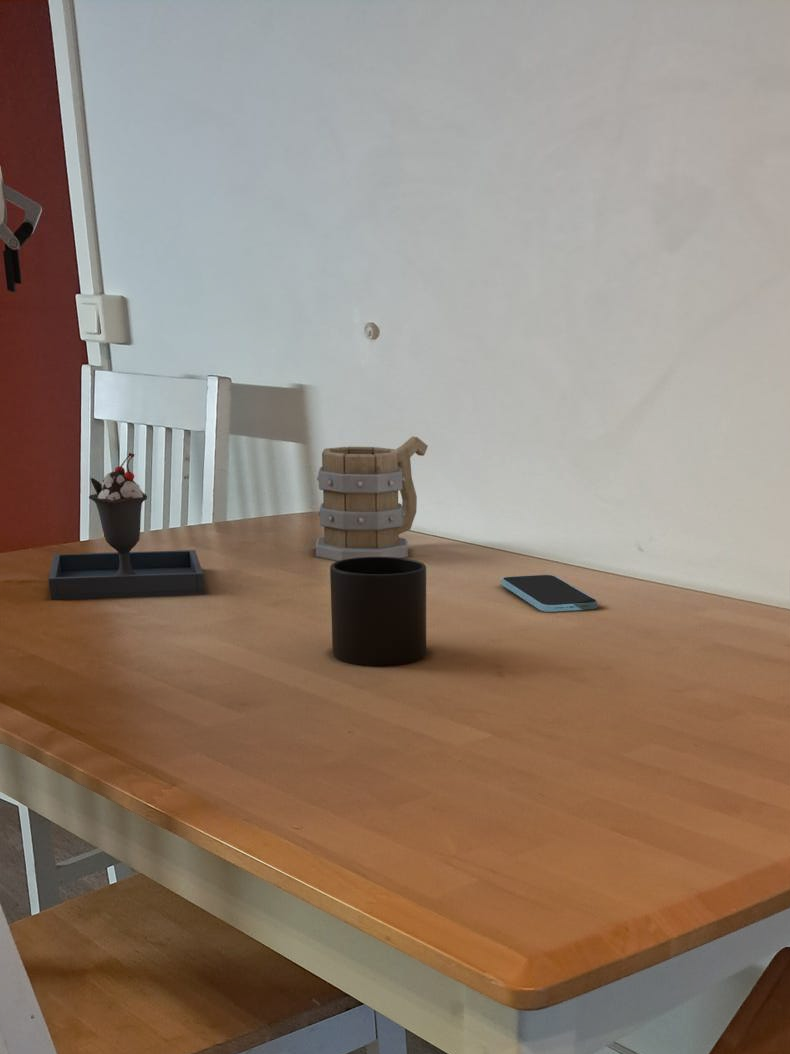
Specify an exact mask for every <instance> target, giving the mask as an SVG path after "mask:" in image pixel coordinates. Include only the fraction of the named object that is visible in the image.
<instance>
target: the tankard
mask: <svg viewBox="0 0 790 1054" xmlns="http://www.w3.org/2000/svg"><path fill="white" fill-rule="evenodd" d="M428 447H429V446H428V444H427V443H425V441H423V440H422V439H421V438H419V437H417V436H411V437H410V438H408V440H406V441H405V442H404V443H403V444H401V445H400V446H399V447H397V448H396V449H395V448H387V447H379V446H375V447H374V446H339V447H338V446H337V447H329V448H328V447H326V448H324V449H323V450H322V452H321V463H322V464H321V465H322V466H321V467H319V469H318V475H317V477H316V481H318V489H319V490H321V491H322V498H323V499H322V500H323V502H321V504H320V506H319V511H318V512H317V515H318V516H319V525H320V526H321V527H324V528H323V529H324V530H323V531H324V532H323V533H324V537H318V539H317V540H316V543H315V557H316V558H321V559H325V560H331V561H334V562H337V561H340V560H344V559H350V558H359V557H396V558H405V559H407V558H408V556H409V553H408V552H409V549H408V540H407V538H405V537H399V535H401V534H403V533H406V532H408V531H411V529H412V526H413V523H414V521H415V517H416V515H417V506H418V505H417V504H418V496H417V492H416V488H415V485H414V481H413V477H412V465H411V464H412V463H411V458H412V456H414V455H415V454H416V456H421V457H424V456H425V455H426V452H427V451H428ZM399 492H400V496H401V499H402V500H401V503H399Z"/></svg>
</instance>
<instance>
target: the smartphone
mask: <svg viewBox="0 0 790 1054" xmlns="http://www.w3.org/2000/svg"><path fill="white" fill-rule="evenodd" d="M501 585H502V587H504V588H505V589H507V590H508V591H510V592H511V593H513V594H514V595H516V596H518V597H519V598H521V599H522V600H524V601H525V602H527V603H528V604H530V605H531V606H532V607H535V608H536V609H537V610H539V611H541V612H545V613H555V612H556V613H557V612H570V611H571V612H572V611H585V610H595V609H597V608H598V600H597V599H595V598H594V597H592V596H590V595H588V594H587V593H585V592H584V591H581V590H580V589H578V588H576V587H575V586H573V585H571V584H570V583H568V582H566V581H565V580H563V579H561V578H560V577H558V576H556V575H553V574H534V575H533V574H531V575H518V576H517V575H516V576H515V575H513V576H503V577H501Z"/></svg>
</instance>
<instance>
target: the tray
mask: <svg viewBox="0 0 790 1054" xmlns="http://www.w3.org/2000/svg"><path fill="white" fill-rule="evenodd" d="M51 560H52V561H51V566H50V571H49V575H48V587H49V594H50V601H63V600H64V601H65V600H89V599H115V598H140V597H143V598H144V597H145V598H146V597H169V596H171V597H172V596H193V595H194V596H196V595H197V596H198V595H199V596H200V595H205V594H206V593H205V579H204V572H203V569H202V566H201V563H200V560H199V557H198V554H197V551H196V550H195V549H187V550H186V549H182V550H155V551H154V550H150V551H148V550H147V551H130V552H129V561H130V565H131V568H132V570H133V571H134V572H135V573H136V574H138V575H115V574H116V573H117V572H118V570H119V566H120V559H119V553H118V552H117V551H115V552H113V551H112V552H83V553H81V552H80V553H79V552H77V553H53V555H52V559H51Z"/></svg>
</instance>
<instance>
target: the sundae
mask: <svg viewBox="0 0 790 1054" xmlns="http://www.w3.org/2000/svg"><path fill="white" fill-rule="evenodd" d="M135 455H136V454H135V453H131V452H128V456H127V457H126V458H125V459H124V461H123V462H122V463H121V464H120V466H116V467H115V468H114V471H111V472H109V473H107V474H106V475H105V476H104V477H103V478H102V480H101V481H98V480H97V479H95V478H93V477H91V478H90V481H91V484H92V487H93V489H94V490H95V491H94V492H95V493H94V494H90V495H89V496H88V499H90V500H91V501H93V502H94V504H95V505H96V509H97V512H98V515H99V520H100V524H101V529H102V532H103V536H104V539H105V541H106V543H107V544H108V545H109V546H110V547H111V548H113V550H115V552H118V553H119V559H120V566H119V570H118V572H117V573H116V574H115V575H138V574H136V573H135V572H134V571H133V570H132V568H131V565H130V561H129V552H132V549H133V548H135V547H136V545H137V544H138V542H139V541H140V536H141V525H142V524H141V522H142V521H141V520H142V519H141V518H142V507H143V502H145V501H146V500H147V499H148V495H147V494H146V493H145V492H144V491H143V490H142V489H141V487H140V485H139V484H138V483H137V482H136V481H135V480H134V479H135V474H134V472H131V471H130V468H129V464H130V461H131V460H132V458H134V457H135ZM126 461H127V463H126ZM125 463H126V470H125V468H124V467H123V466H124V464H125Z"/></svg>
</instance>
